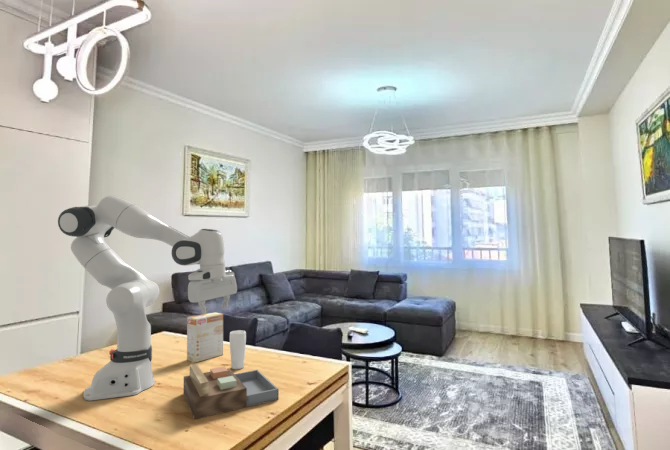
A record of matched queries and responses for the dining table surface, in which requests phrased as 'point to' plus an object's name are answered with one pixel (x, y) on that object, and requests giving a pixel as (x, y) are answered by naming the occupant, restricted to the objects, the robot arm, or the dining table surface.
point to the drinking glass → (237, 348)
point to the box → (258, 388)
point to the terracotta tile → (218, 372)
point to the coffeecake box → (204, 336)
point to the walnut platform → (214, 397)
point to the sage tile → (226, 382)
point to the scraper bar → (199, 380)
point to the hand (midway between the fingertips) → (215, 310)
